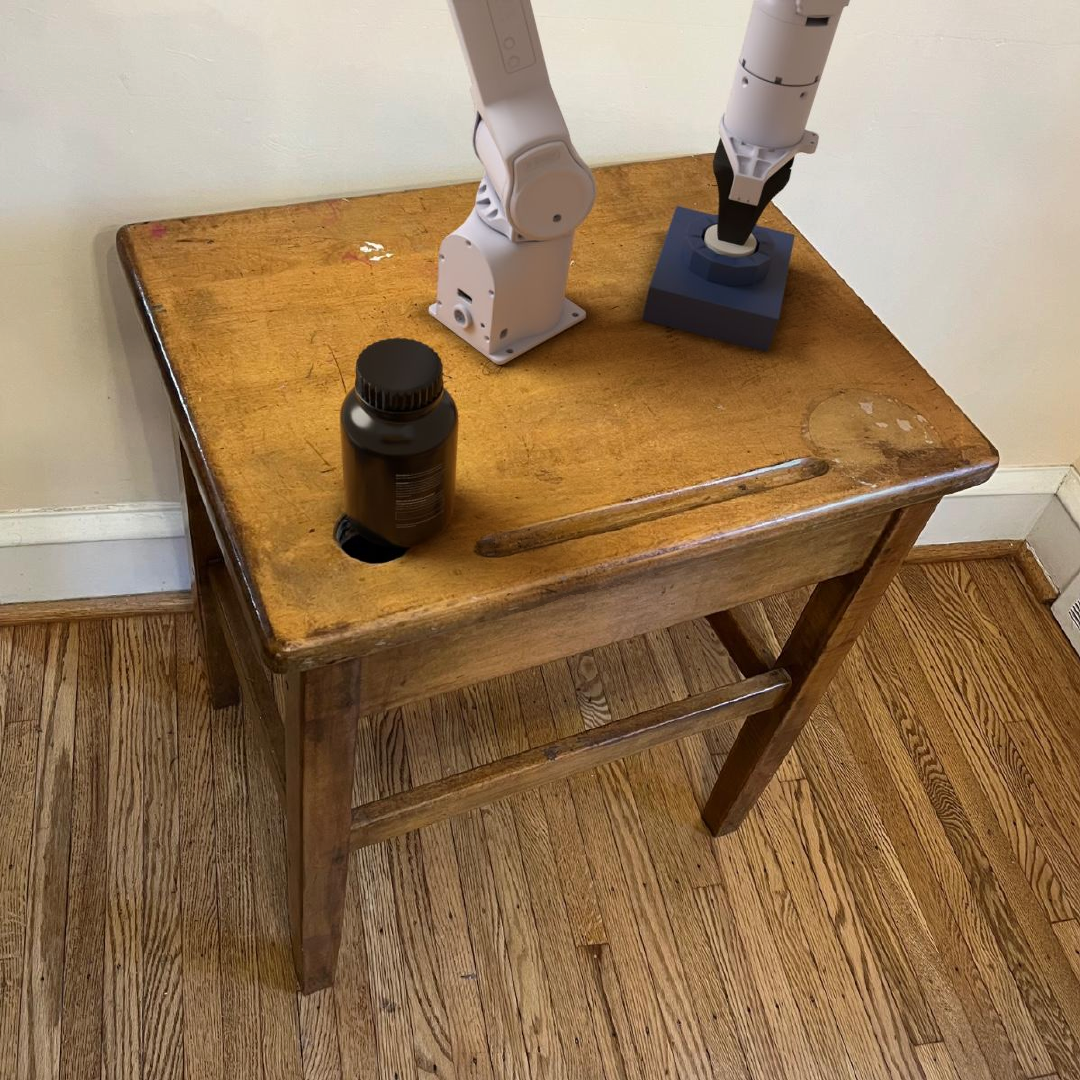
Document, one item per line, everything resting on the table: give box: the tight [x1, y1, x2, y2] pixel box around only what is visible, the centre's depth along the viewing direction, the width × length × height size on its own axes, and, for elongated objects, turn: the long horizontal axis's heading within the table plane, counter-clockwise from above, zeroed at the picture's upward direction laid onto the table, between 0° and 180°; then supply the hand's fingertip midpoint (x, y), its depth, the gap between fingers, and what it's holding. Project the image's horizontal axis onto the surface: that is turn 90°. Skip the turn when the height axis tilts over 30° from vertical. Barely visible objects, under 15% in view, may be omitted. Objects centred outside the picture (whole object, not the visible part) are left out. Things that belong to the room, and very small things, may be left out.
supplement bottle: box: [339, 337, 460, 549], centre depth 63 cm, size 7×7×12 cm
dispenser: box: [641, 205, 796, 353], centre depth 85 cm, size 12×10×5 cm
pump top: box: [704, 224, 756, 258], centre depth 84 cm, size 4×4×2 cm
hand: (731, 238), depth 83 cm, fingers closed, pressing on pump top
